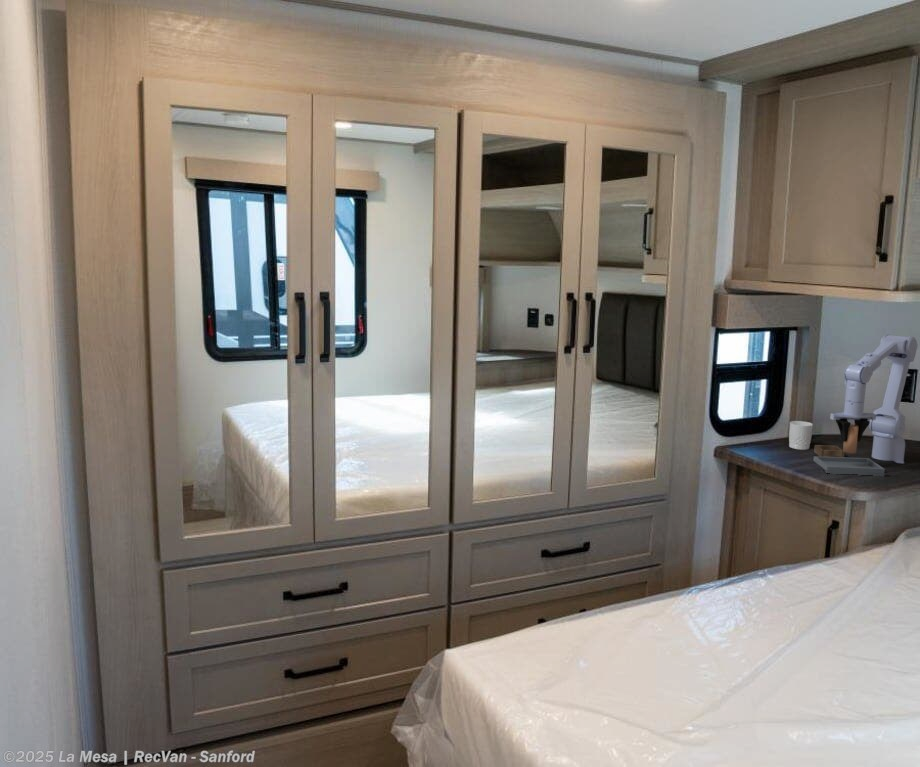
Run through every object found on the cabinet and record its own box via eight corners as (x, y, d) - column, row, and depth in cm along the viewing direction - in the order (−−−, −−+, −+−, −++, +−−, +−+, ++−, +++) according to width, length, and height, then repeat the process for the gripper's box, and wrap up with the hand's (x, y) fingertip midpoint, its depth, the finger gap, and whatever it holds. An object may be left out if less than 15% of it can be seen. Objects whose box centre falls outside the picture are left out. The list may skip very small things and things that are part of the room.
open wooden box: (835, 455, 276) (836, 445, 275) (843, 460, 268) (844, 451, 267) (813, 454, 276) (814, 445, 276) (821, 460, 269) (822, 450, 268)
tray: (867, 465, 263) (868, 458, 262) (884, 476, 250) (884, 469, 250) (813, 463, 265) (813, 456, 264) (826, 474, 252) (827, 466, 252)
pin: (851, 450, 258) (854, 424, 257) (858, 453, 254) (861, 426, 253) (840, 450, 258) (842, 424, 257) (846, 453, 254) (849, 426, 253)
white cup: (812, 453, 278) (815, 426, 276) (789, 451, 280) (792, 425, 278) (807, 447, 286) (810, 421, 284) (785, 446, 287) (787, 420, 286)
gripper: (868, 398, 258) (864, 437, 260) (827, 398, 257) (823, 437, 259) (881, 402, 251) (876, 442, 253) (838, 402, 250) (834, 443, 252)
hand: (850, 440), depth 256 cm, fingers closed on pin, 4 cm apart
